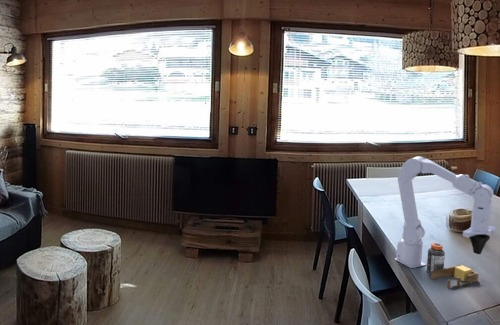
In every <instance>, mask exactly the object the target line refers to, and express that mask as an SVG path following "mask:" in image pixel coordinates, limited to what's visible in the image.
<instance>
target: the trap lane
mask: <svg viewBox="0 0 500 325" xmlns="http://www.w3.org/2000/svg"><path fill="white" fill-rule="evenodd" d="M457 266H461V264H459V265H455V266H450V267H444V269H439V270H435V271H431V273H430V280H436V279H439V278H445V277H449V276H452V275H454V273H455V267H457ZM479 275H480V273H479V272H476V271H474V270H472V274H470V275H467V280H466V281H464V282H462V283H461V280H460V279H461V278H460V277H458V278H456V279H457V282H456V284H453V285H451V279H447V285H446V286H447V289H451V290H454V289H458V288H462V287H467V286H471V284H472V283H475V282H478V281H479Z"/></svg>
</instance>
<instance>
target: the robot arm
mask: <svg viewBox="0 0 500 325" xmlns="http://www.w3.org/2000/svg"><path fill="white" fill-rule="evenodd" d="M420 173H421V174H433V175H435V176H437V177H439V178H441V179H444V180H446V181H447V182H450V183H452V184H451V185H452V187H453V188H455V189H456V190H458V191H459V192H462V193H464V194H465V195H467V196H469V197H472V199H473V204H472V211H471V212H472V213H471V222H470V227H469V228H468V229H466V230H463V231H462V237H464V238H467V239H468V238H469V241H470V242H471V246H472V252H473V254H476V255H481V254H482V252H483V249H484V248H485V245H486V244H487V243H488V241H489V240H490V237H491V236H490V235H492V234H495V233H496V229H497V228H496V227H494V226H490V223H491V222H490V220H491V215H492V214H491V212H492V211H491V210H492V206H491V205H492V198H493V196H494V190H493V188H492V187H491V186H490V185H489V184H486V183H485V184H484V183H483V182H482V181H476V180H474V179H472V178H470V175H469V174H462V173H461V174H456V173H454V172H452V171H450V170H448V169H446V168H445V167H444V166H441V165H440V164H438V163H436V162H434V161H433V160H430V159H429V158H426V157H423V156H421V155H420V156H419V155H418V156H414V157H411V158H409V159H407V160H406V161H405V162H404V163H403V164H402V165H401V169H400V171H399V173H398V176H397V184H398V189H399V196H400V200H401V206H402V212H403V213H402V214H403V217H404V219H403V220H404V223H403V226H402V228H403V233H402V236H401V237H402V239H400V240H399V241H397V245H396V257H395V258H394V260H395V261H396V262H399V263H401V264H403V265H405V266H406V267H409V268H410V269H415V268H419V267H420V268H421V267H424V266H427V263H424V262H423V261H422V256H423V255H422V254H423V246H424V245H423V240H422V239H423V238H424V237H425V234H426V232H425V229H424V227H423V225H422V222H421V220H420V219H419V217H418V209H417V204H416V198H415V193H414V186H413V180H414V179H415V178H416V177H417V176H418V175H419V174H420Z"/></svg>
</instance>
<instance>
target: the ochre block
mask: <svg viewBox="0 0 500 325" xmlns="http://www.w3.org/2000/svg"><path fill="white" fill-rule="evenodd" d="M460 265H461V264H460ZM456 266H457V267H455V273H454V276H453V277H454V278H455V279H457V278H458V277H460V278H461V279H460V281H462V282H467V275H470V274H472V271H473V269H472V268H470V267H467V266H465V265H463V264H462V265H461V266H458V265H456Z"/></svg>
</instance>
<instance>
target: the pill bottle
mask: <svg viewBox="0 0 500 325" xmlns="http://www.w3.org/2000/svg"><path fill="white" fill-rule="evenodd" d="M443 248H444V247H443V244H441V243H439V242H432V243H431V244H430V248H428V250H427V260H426V261H427V262H426V271H427V272H428V273H430V274H431V271H435V270H439V269H444V268H445V258H446V257H445V256H446V255H445V254H446V253H445V251H444V249H443Z"/></svg>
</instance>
